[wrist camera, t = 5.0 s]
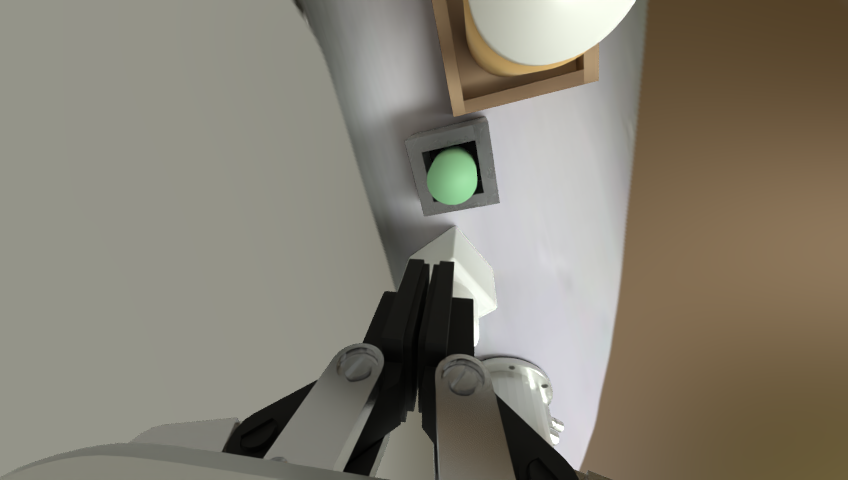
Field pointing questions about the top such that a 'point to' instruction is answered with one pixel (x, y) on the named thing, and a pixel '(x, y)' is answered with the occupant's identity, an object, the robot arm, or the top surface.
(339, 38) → the top surface
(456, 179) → the button
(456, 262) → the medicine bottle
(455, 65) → the wooden tray
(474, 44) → the bottle
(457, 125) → the button pedestal
